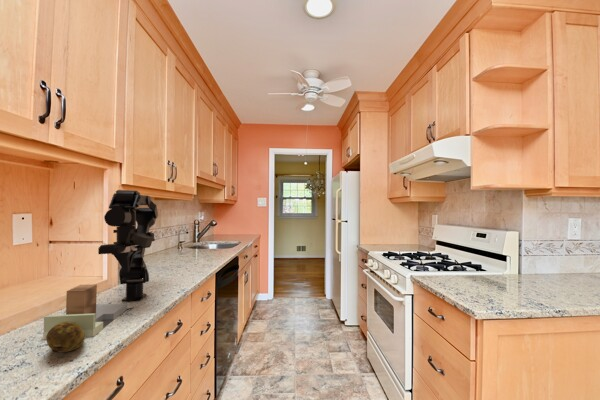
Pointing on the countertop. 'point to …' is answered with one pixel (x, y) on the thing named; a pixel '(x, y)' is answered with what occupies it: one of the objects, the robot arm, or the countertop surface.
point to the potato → (65, 337)
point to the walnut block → (81, 300)
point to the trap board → (87, 319)
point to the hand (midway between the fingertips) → (126, 272)
